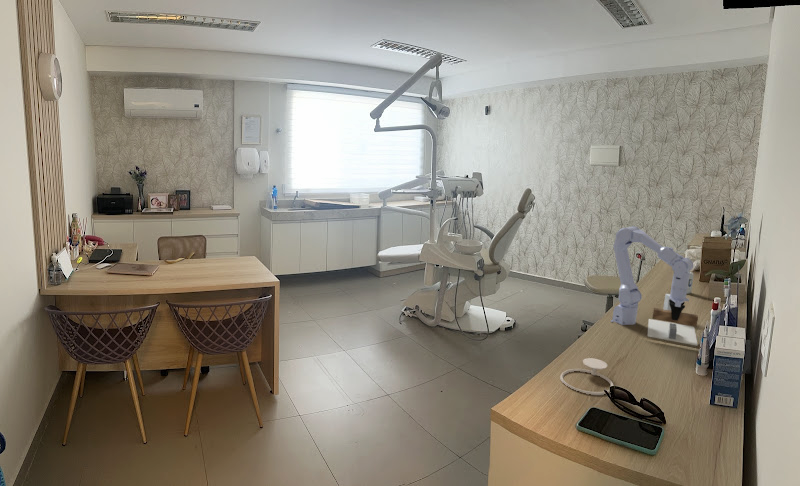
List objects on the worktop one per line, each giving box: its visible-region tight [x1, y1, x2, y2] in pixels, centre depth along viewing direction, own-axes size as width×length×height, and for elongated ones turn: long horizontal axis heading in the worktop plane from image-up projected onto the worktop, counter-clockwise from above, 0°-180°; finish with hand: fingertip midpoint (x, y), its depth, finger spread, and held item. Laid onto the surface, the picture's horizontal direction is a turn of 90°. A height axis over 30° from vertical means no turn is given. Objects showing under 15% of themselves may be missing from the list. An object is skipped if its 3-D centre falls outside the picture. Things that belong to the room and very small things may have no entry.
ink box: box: [686, 271, 694, 295], centre depth 265 cm, size 9×5×12 cm, turn 25°
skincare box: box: [662, 293, 671, 311], centre depth 220 cm, size 6×4×12 cm
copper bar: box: [652, 307, 699, 327], centre depth 197 cm, size 16×3×4 cm, turn 62°
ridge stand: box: [646, 318, 698, 348], centre depth 203 cm, size 24×18×5 cm
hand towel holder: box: [559, 357, 615, 396], centre depth 159 cm, size 17×4×21 cm
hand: (674, 318), depth 197 cm, fingers closed on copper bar, 3 cm apart
